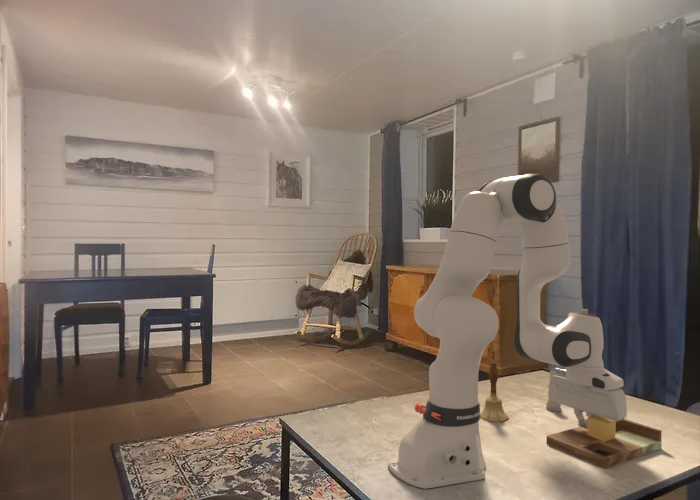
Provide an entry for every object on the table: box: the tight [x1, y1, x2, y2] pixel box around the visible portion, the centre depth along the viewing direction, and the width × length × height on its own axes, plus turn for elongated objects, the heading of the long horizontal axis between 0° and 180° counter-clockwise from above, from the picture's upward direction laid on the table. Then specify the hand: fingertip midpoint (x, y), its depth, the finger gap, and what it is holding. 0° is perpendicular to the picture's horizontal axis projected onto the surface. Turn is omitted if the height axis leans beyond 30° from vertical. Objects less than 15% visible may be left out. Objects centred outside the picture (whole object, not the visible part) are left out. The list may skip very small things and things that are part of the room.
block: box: [587, 415, 616, 442], centre depth 122 cm, size 4×4×4 cm
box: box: [546, 418, 663, 469], centre depth 121 cm, size 22×16×4 cm
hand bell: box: [480, 362, 510, 423], centre depth 143 cm, size 8×8×16 cm
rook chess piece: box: [545, 384, 562, 412], centre depth 150 cm, size 4×4×8 cm
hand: (585, 427), depth 126 cm, fingers closed
